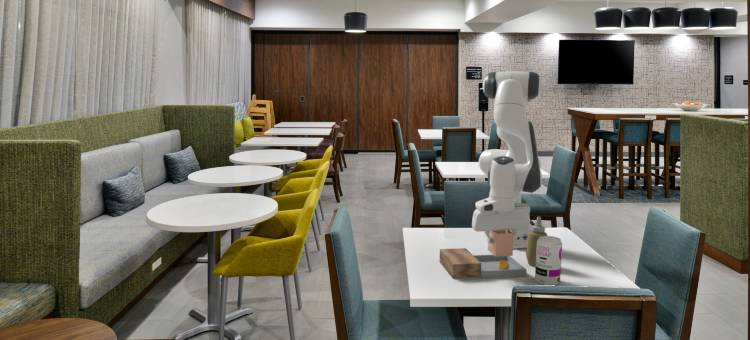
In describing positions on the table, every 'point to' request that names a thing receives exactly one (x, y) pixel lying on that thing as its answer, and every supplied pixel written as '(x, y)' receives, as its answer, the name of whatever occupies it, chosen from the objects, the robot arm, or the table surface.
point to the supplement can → (548, 260)
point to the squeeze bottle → (534, 241)
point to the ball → (503, 265)
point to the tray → (492, 271)
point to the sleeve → (501, 243)
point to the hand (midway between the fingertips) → (500, 242)
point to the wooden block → (460, 263)
